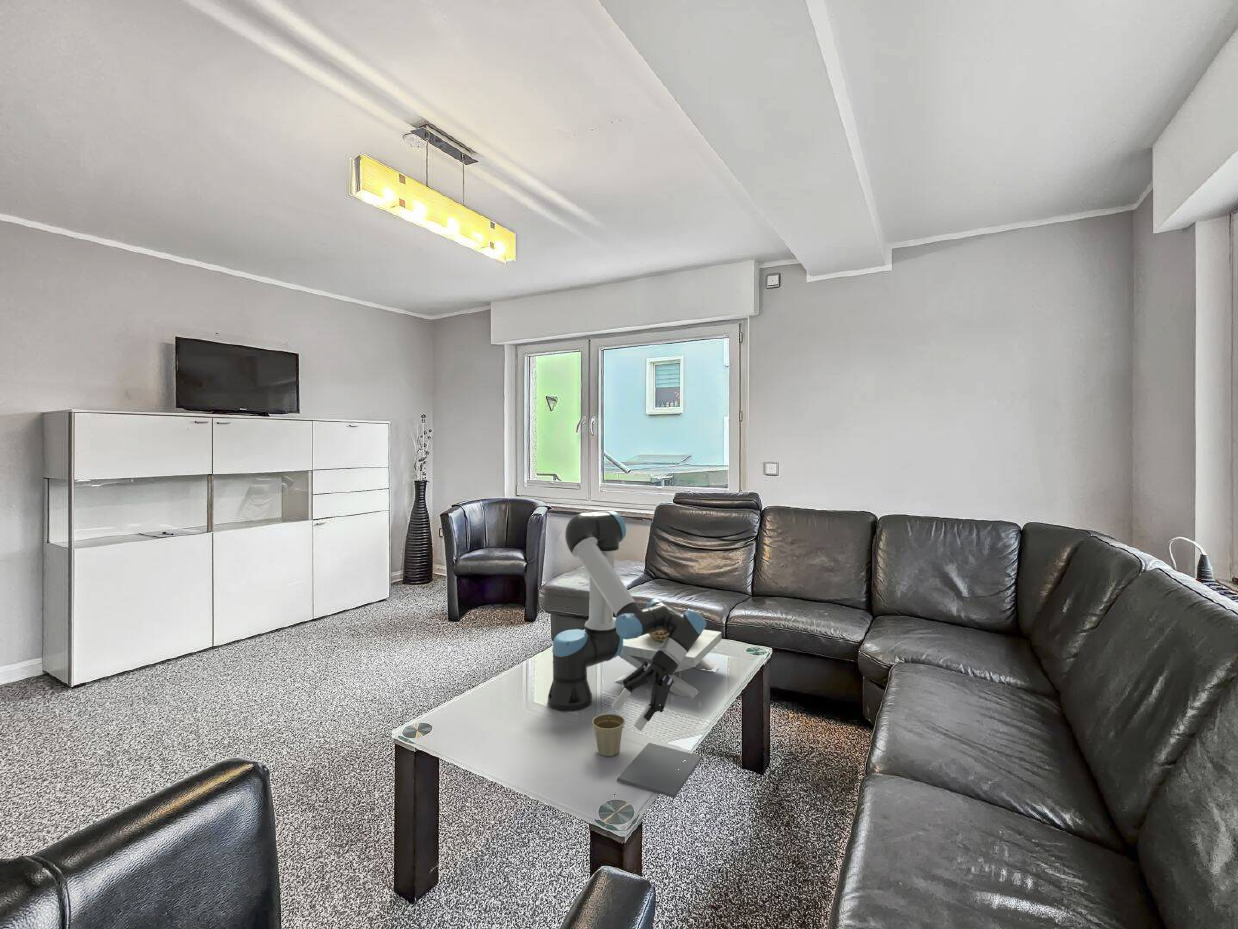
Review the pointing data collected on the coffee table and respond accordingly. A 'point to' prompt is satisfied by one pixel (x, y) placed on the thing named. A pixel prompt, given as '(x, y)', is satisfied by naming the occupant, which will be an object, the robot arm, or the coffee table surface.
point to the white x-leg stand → (650, 643)
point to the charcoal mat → (660, 769)
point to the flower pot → (608, 733)
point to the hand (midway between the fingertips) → (625, 718)
